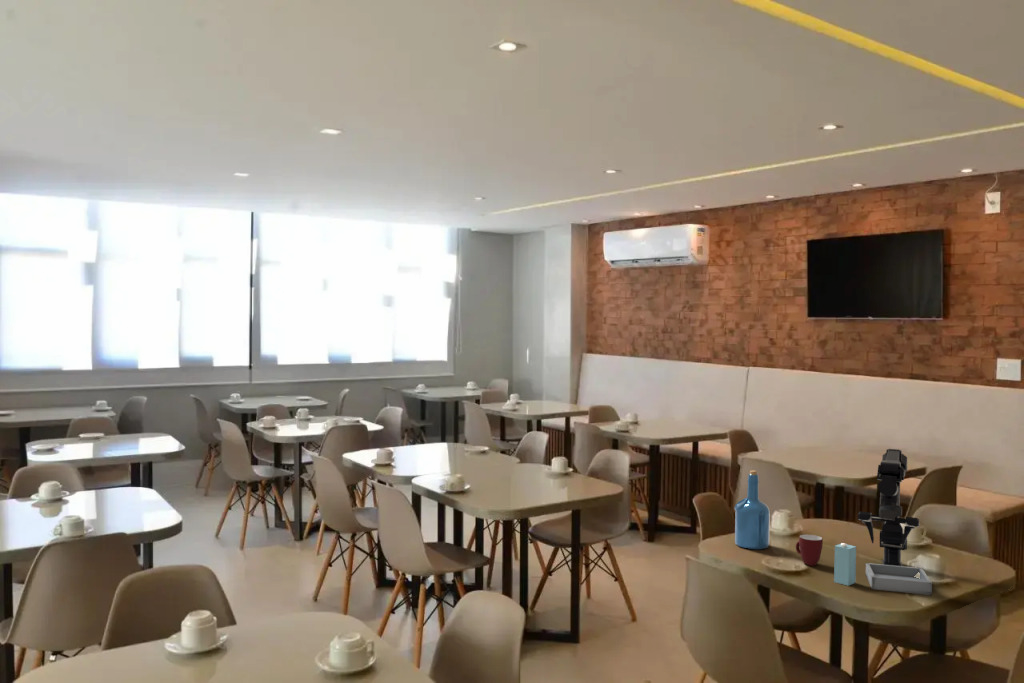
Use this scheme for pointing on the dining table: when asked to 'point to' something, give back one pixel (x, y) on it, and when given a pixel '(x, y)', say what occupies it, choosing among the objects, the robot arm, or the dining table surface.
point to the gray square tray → (898, 579)
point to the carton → (845, 564)
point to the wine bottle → (752, 518)
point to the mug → (810, 548)
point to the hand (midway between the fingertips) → (887, 545)
